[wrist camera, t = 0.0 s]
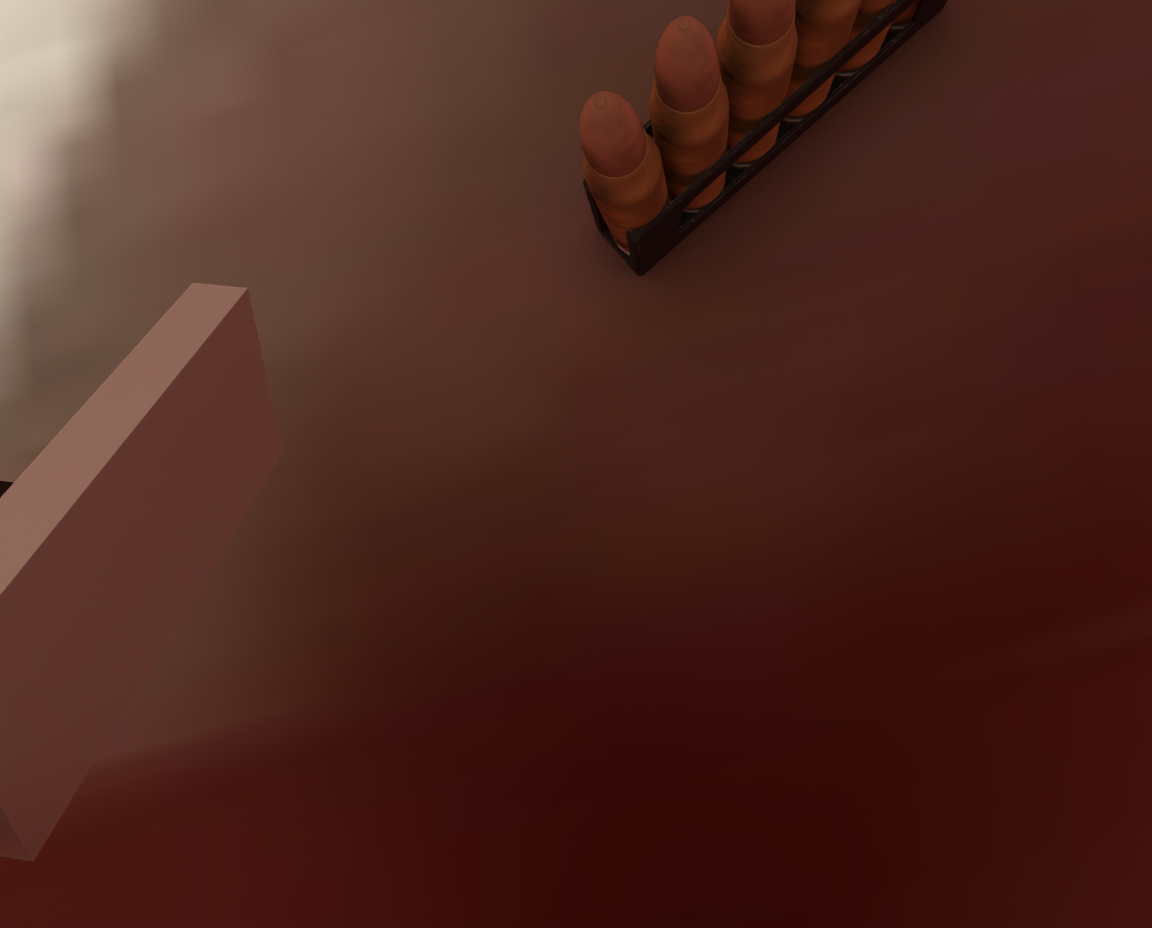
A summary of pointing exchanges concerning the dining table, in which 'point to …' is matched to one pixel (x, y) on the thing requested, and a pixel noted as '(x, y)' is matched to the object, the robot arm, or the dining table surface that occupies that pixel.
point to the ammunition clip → (727, 110)
